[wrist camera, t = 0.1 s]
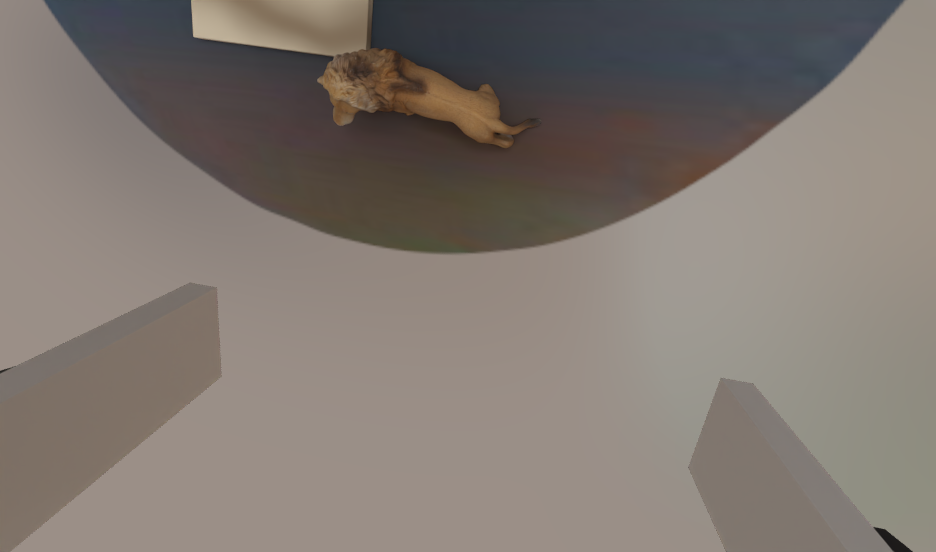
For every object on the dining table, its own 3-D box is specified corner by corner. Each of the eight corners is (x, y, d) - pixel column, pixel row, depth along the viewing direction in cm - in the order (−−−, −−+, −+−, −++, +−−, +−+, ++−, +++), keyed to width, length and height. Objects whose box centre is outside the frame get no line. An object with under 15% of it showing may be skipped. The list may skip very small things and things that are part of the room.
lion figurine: (356, 121, 38) (306, 122, 30) (362, 50, 36) (311, 30, 28) (534, 154, 37) (534, 164, 29) (549, 83, 35) (554, 71, 27)
